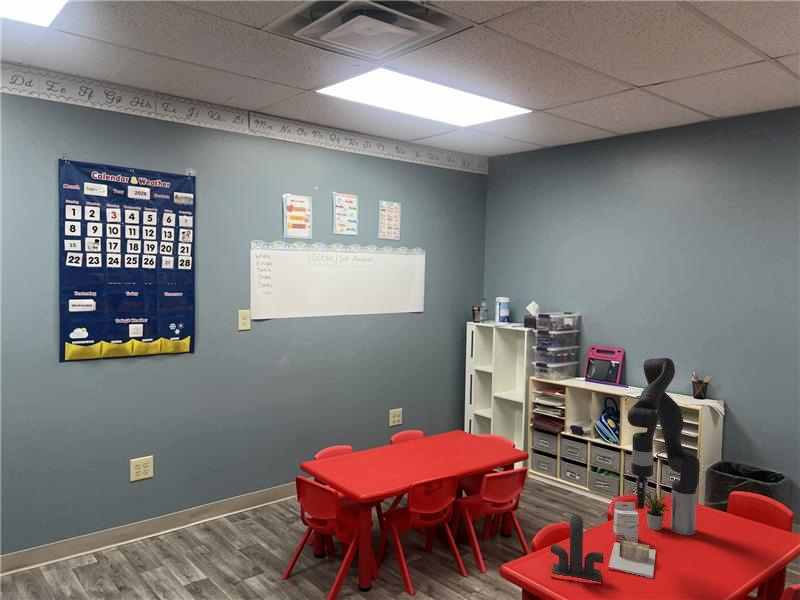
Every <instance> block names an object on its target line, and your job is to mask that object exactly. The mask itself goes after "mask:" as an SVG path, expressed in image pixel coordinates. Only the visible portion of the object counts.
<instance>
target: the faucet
mask: <svg viewBox="0 0 800 600" xmlns="http://www.w3.org/2000/svg"><path fill="white" fill-rule="evenodd" d="M569 532H570V533H569V554H568V552H567V550H566V549H565V548H563V547H562V546H559V545H558V544H556V543H552V545H550V553H552V555H556V556H557V557H558V563H552V564H553V569H552V573H553V574H557V575H563V576H571V577H577V578H582V579H586V580H592V581H597V582H602V583H603V580H602V571H601V570H600V569H599V568H595V563H598V564H604V553H602V552H593V551H591V552H589V553H587V554H586V555H585V556H583V555H584V554H583V553H584V552H583V551H584V550H583V549H584V521H583V518H582V516H581V515H579V514H576V513H575V514H572V515H571V516H570V519H569ZM583 557H584V558H583ZM583 559H584V564H583ZM583 565H584V566H583Z"/></svg>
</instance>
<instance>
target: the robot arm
mask: <svg viewBox="0 0 800 600" xmlns="http://www.w3.org/2000/svg"><path fill="white" fill-rule="evenodd" d="M675 367H676V366H675V363H674V361H673V359H671V358H670V357H669V358H668V357H659V358H658V357H657V358H650V359H648V358H647V359H646V360H645V361H644V362H643V372H644V375H645V379H646V381H647V384H648V385H647V386H646V387H644V388H643V390H642V391H641V394H640V397H639V399H638V401H636V403H634V405H632V406H631V407H630V409H629V410H628V412H627V417H626V418H627V422H628V423H629V424H630V425H631V426H632V427H635V428H636V427H637V428H643V429H646V431H645V432H636V433H633V435H632V450H631V474H632V475H634V476H637V477H636V480H635V484H636V486H635V487H636V489H635V491H636V498H637V508H638V509H639V510H644V509H645V505H644V502H645V501H646V499H647V495H646V492H647V491H648V490H647V489H648V483H649V479H648V478H650V477H653V476H654V447H653V446H654V436H655V431H656V429H657V427H658V424H659V425H660V429H661V433H662V436H663V441H664V445H665V452H666V459H667V463H668V466H669V467H670V469H671V470H672V471H673V472H676V473H677V474H680V475H679V479H677V480H674V481H672V483H671V501H670V502H671V509H670V510H671V511H670V512H671V513H670V514H671V515H670V530H671V531H672V532H673V533H676V534H678V535H680V536H681V535H682V536H693V535H695V534H696V518H697V515H696V514H697V512H696V511H697V506H696V505H697V488H698V486H699V481H700V480H699V479H700V470H701V468H700V467H701V465H700V460H699V458H698V457H697V456H696V455H694V454H692V453H689V452H686V451H685V450H684V449H683V446H682V442H681V434H682V433H683V429H684V426H685V425H684V423H685V422H684V418H683V413H682V410H681V407H680V405H678V403H677V402H676V401H675V399H673V398H672V397H671V396H670V395H668V393H667V392H666V390H667V388H669V385H670V384H671V383H672V381H673V379H674V377H675V374H676V368H675ZM646 490H647V491H646Z"/></svg>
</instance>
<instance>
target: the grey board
mask: <svg viewBox="0 0 800 600" xmlns="http://www.w3.org/2000/svg"><path fill="white" fill-rule="evenodd" d="M656 554H657V553H656V549H652V548H649V560H648V562H644V561H639V560H634V559H629V558H624V557H619V556H620V542H617V541H616V542H614V544H613V548H612V551H611V555H610V558H609V563H608V567H610V568H615V569H618V570H621V571H624V572H628V573H632V574H631V575H633V574H636V575H635V576H638V575H640V576H639V577H643V576H645V577H644V578H649V579H654V571H655V562H656ZM608 567H607V568H608ZM628 573H627V574H628Z"/></svg>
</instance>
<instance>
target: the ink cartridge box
mask: <svg viewBox="0 0 800 600" xmlns="http://www.w3.org/2000/svg"><path fill="white" fill-rule="evenodd" d="M625 505H626V506H625ZM612 531H613V535H614V536H613V535H612V536H613V538H614V537H615V538H614V540H615V539H616V540H623V541H632V542H634V543H638V539H639V538H638V537H639V513H638V512H637V510H636V502H632V501H631V502H629V501H628V502H627V501H615V502H614V509H613V530H612ZM616 540H615V541H616Z"/></svg>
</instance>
